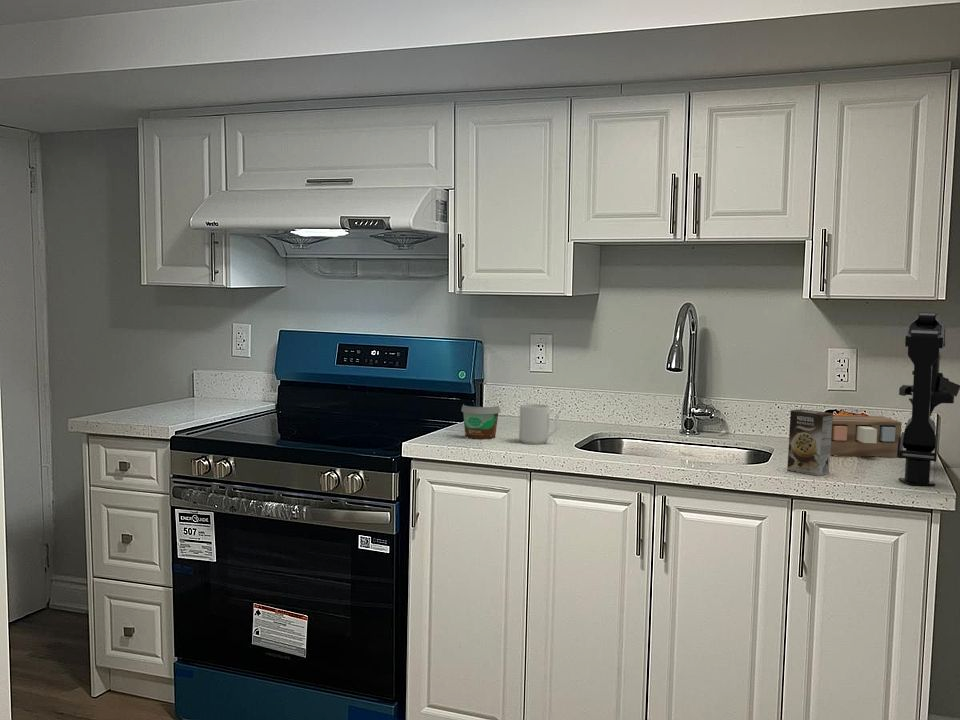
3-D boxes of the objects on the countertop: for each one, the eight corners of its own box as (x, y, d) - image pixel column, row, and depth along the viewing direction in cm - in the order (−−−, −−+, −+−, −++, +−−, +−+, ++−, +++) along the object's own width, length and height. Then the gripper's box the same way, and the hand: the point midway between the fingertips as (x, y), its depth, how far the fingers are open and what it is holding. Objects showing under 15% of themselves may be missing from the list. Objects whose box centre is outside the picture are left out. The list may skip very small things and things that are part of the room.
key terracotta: (846, 440, 272) (847, 426, 271) (834, 440, 272) (835, 426, 271) (838, 437, 278) (839, 423, 277) (826, 437, 277) (827, 423, 277)
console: (899, 457, 274) (901, 422, 273) (824, 455, 273) (826, 420, 272) (881, 450, 285) (883, 416, 285) (809, 448, 285) (810, 414, 284)
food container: (456, 438, 288) (457, 406, 287) (460, 435, 294) (461, 403, 293) (496, 440, 286) (497, 408, 285) (499, 437, 292) (500, 405, 291)
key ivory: (876, 443, 268) (877, 429, 268) (864, 443, 268) (865, 429, 268) (867, 439, 274) (868, 426, 274) (855, 439, 274) (856, 425, 274)
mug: (514, 443, 283) (515, 406, 282) (525, 439, 291) (526, 403, 290) (552, 446, 278) (553, 409, 277) (562, 442, 286) (563, 406, 285)
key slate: (894, 441, 272) (895, 427, 272) (882, 441, 272) (883, 427, 272) (885, 438, 278) (886, 424, 278) (873, 437, 278) (874, 424, 277)
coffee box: (786, 470, 249) (789, 410, 248) (797, 468, 253) (800, 408, 252) (819, 476, 242) (822, 414, 241) (830, 473, 247) (833, 412, 246)
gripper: (976, 372, 243) (972, 432, 244) (939, 365, 262) (935, 421, 263) (933, 371, 243) (929, 431, 244) (899, 364, 262) (896, 420, 263)
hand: (923, 425), depth 254 cm, fingers closed
